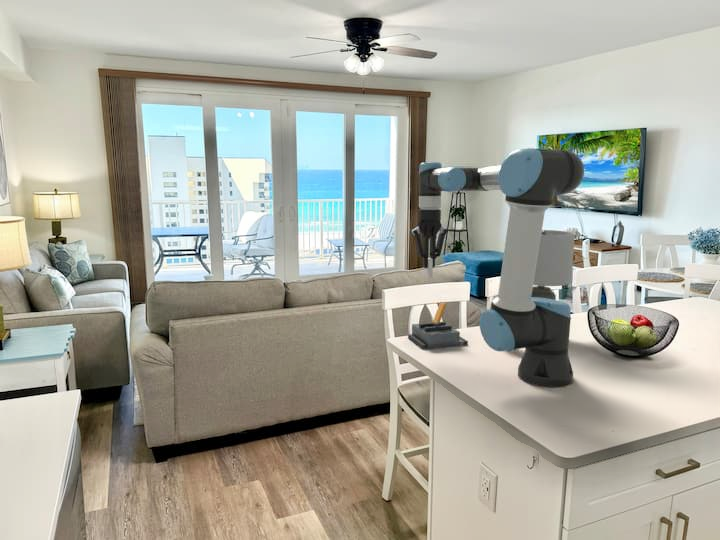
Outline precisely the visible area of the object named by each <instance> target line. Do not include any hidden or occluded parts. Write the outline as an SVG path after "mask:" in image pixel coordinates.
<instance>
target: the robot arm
mask: <svg viewBox="0 0 720 540" xmlns="http://www.w3.org/2000/svg"><path fill="white" fill-rule="evenodd" d="M584 177H585V166H584V163H583V160H582V159H581V158H580V157H579V155H577V154H576V153H575V152H574V151H573V152H572V151H571V150H568V149H561V148H560V149H552V148H551V149H550V148H549V149H548V148H534V147H531V148H530V147H528V148H519V149H515V150H514V151H511V152H510V153H509V154H508V156H506V157H505V159H503V161H502V163H501V164H500V165H494V166H482V167H456V166H448V167H442V163H441V162H437V161H436V162H435V161H428V162H427V161H426V162H421V163H420V164H419V171H418V207H419V210H418V222H417V226H416V227H415V228H414V229H413V228H412V229H411V230H410V232H411V234H412V236H413V239H414V243H415V248H416V253H417V256H418V257H420V258H421V259H422V260H423V261H422V266H423V268H424V270H425V271H424V273H425V274H424V275H425V278H428V279H430V278H433V268H435V266H436V259H437V258H438V257H441V254H442V251H443V247H444V241H445V237H446V235H447V233H448V231H449V229H448V228H445V227H443V225H442V223H441V222H442V221H441V219H442V210H441V209H440V208H441V207H442V192H448V193H450V192H453V193H454V192H489V191H499V190H500V191H501V192H502V194H504V195H505V198H504V202H506V204H507V205H508V206H509V214H508V215H509V216H508V222H507V227H506V228H507V229H506V236H505V244H504V251H503V258H502V264H501V272H500V279H499V287H498V293H497V294H496V295H494V296H493V297H492V298H491V303H490V309H489V308H488V309H486V310H484V311H483V312H482V313H481V314H480V317H479V331H480V334H481V337H482V338H483V340H484V343H486V345H487V346H488V347H489V348H490V349H492V350H493V351H496V352H512V351H514V350H520V349H521V350H522V349H524V352H523V355H522V356H521V360H520V363H519V364H518V367H517V376H518V377H519V379H521V380H522V381H524V382H526V383H527V384H531V385H535V386H540V387H546V388H547V387H548V388H558V387H559V388H560V387H566V386H570V385H572V383H574V371H573V368H572V363H571V359H570V358H569V357H570V356H569V347H570V346H569V345H570V333H571V332H570V330H571V320H572V316H571V310H572V309H571V307H570V305H569V304H568V303H567V302H564V301H561V300H558V299H557V300H553V299H547V298H538V297H531V296H532V289H533V287H534V285H533V283H534V277H535V270H536V264H537V258H538V252H539V245H540V239H541V233H542V230H543V227H544V226H543V225H544V218H545V213H546V211H547V210H548V209H550V208H551V207H552V206H553V202H554V196H562V195H567V194H570V193H571V192H573V191H575V190H576V189H577V188H579V186H580V185H581V184H582V181H583V179H584ZM420 234H421V235H422V236H420ZM437 235H438V236H437ZM421 238H422V240H421ZM436 240H437V241H436Z"/></svg>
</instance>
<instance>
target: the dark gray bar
mask: <svg viewBox="0 0 720 540" xmlns="http://www.w3.org/2000/svg"><path fill="white" fill-rule="evenodd" d="M407 339H408V340H409V341H410V342H412V343H413V344H415V345H416V346H417V347H419V348H420V349H421V350H426V349H427V348H426V344H424V343H423V342H422V341H420V340H419V339H417V338H416V337H415V336H413V335H412V333H410V334H407Z"/></svg>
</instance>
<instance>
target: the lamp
mask: <svg viewBox="0 0 720 540" xmlns="http://www.w3.org/2000/svg"><path fill="white" fill-rule="evenodd" d="M575 235H576V233H574V232H572V231H566V230H553V229H550V230H549V229H542V233H541V239H540V245H539V252H538V258H537V264H536V270H535V277H534V283H533V289H532V296H531V297H538V298H547V299H553V300H556V299H557V295H556V294H555V292H553V291H552V288H551V287H560V286H561V287H563V286H568V285H571V284H572V281H573V269H574V268H573V266H574V252H575V239H576V238H575V237H576V236H575Z"/></svg>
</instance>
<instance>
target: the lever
mask: <svg viewBox="0 0 720 540" xmlns="http://www.w3.org/2000/svg"><path fill="white" fill-rule="evenodd" d="M446 307H447V304H446V303H445V302H442V301H440V302H439V305H438V307H437V311H436V313H435V315H434V316H433V317H434V318H433V320H432V322H431V323H432V324H433V325H435V326H439V323H440V322H441V320H442V317H443V315H444V312H445V309H446Z"/></svg>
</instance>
